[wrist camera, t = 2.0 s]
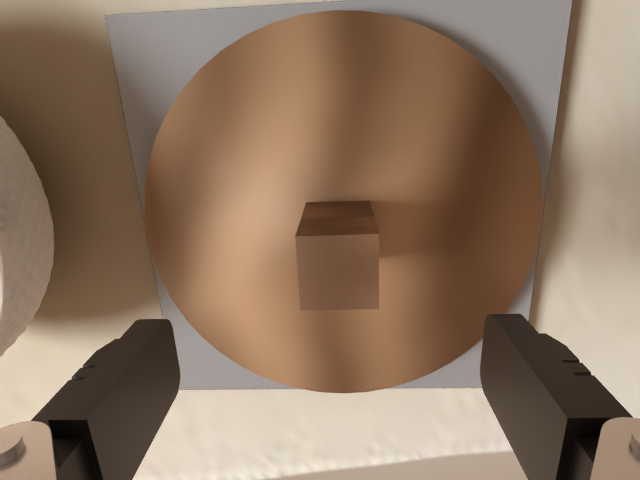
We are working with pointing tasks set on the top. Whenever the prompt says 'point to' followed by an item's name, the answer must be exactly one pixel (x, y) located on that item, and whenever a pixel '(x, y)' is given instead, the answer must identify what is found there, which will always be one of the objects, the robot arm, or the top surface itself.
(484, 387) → the robot arm
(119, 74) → the mat
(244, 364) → the lid
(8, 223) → the cereal bowl
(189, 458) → the top surface
